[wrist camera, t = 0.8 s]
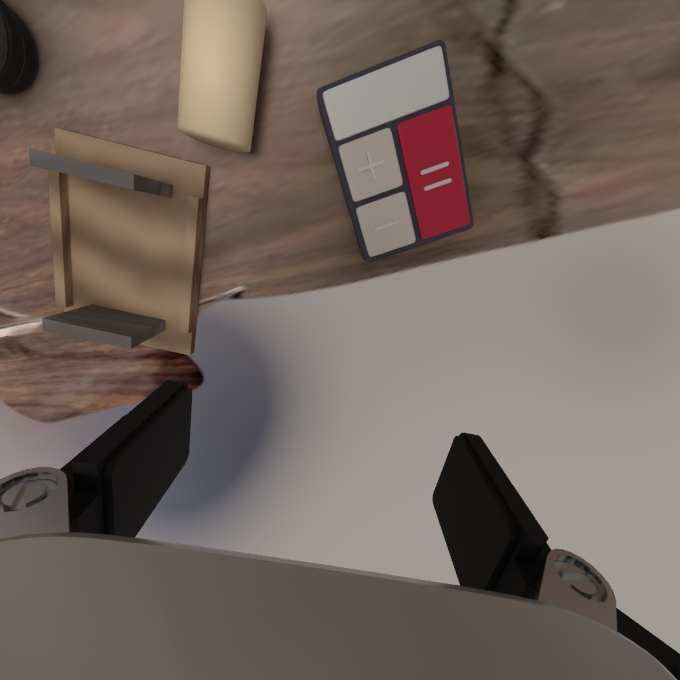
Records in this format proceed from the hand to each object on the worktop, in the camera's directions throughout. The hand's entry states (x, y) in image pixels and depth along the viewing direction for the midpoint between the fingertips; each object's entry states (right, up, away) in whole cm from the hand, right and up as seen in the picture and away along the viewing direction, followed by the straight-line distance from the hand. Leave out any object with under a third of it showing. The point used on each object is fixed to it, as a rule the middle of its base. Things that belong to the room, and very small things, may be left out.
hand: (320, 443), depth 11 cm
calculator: (+6, +21, +20) cm, 30 cm away
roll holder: (-21, +13, +23) cm, 34 cm away
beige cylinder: (-9, +26, +15) cm, 31 cm away
